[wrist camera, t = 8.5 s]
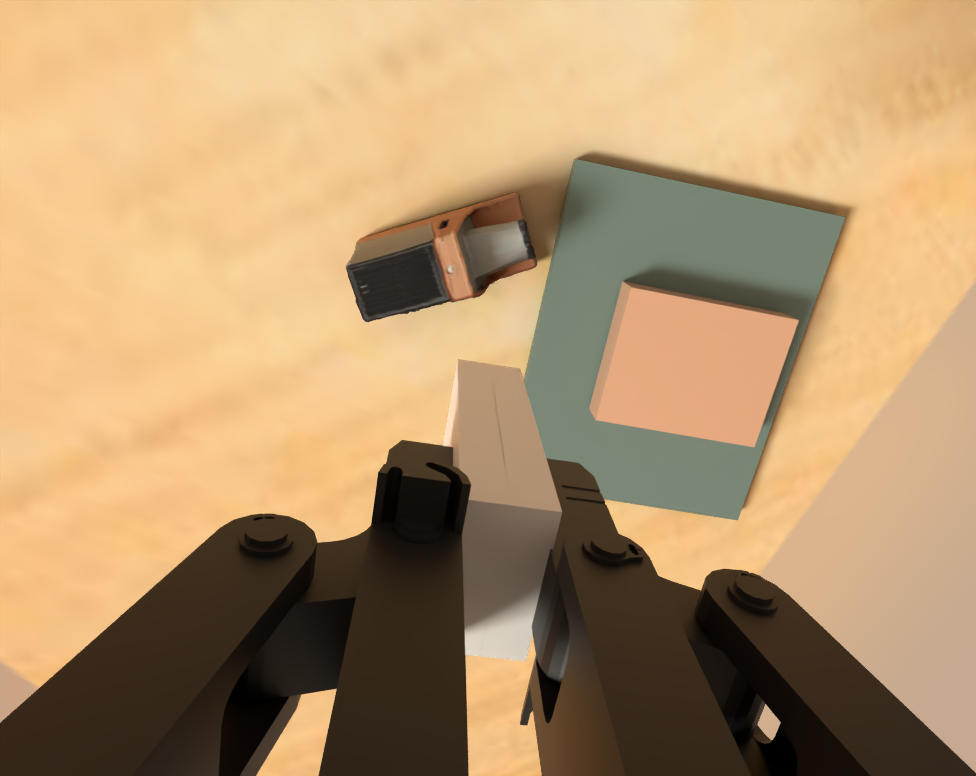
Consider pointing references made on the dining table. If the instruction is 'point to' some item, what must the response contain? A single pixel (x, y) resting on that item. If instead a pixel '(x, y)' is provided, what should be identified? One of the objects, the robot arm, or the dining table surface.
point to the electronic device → (440, 258)
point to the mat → (676, 267)
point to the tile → (690, 365)
